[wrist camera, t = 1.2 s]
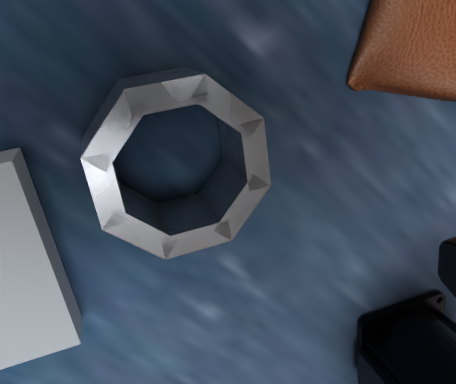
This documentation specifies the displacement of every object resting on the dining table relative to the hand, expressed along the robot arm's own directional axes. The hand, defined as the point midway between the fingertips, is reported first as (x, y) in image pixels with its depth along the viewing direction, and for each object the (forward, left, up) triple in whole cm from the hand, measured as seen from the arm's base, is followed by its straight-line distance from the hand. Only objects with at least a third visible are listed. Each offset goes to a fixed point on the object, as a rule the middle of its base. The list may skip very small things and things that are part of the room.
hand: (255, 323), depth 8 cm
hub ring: (0, 0, -12) cm, 12 cm away
